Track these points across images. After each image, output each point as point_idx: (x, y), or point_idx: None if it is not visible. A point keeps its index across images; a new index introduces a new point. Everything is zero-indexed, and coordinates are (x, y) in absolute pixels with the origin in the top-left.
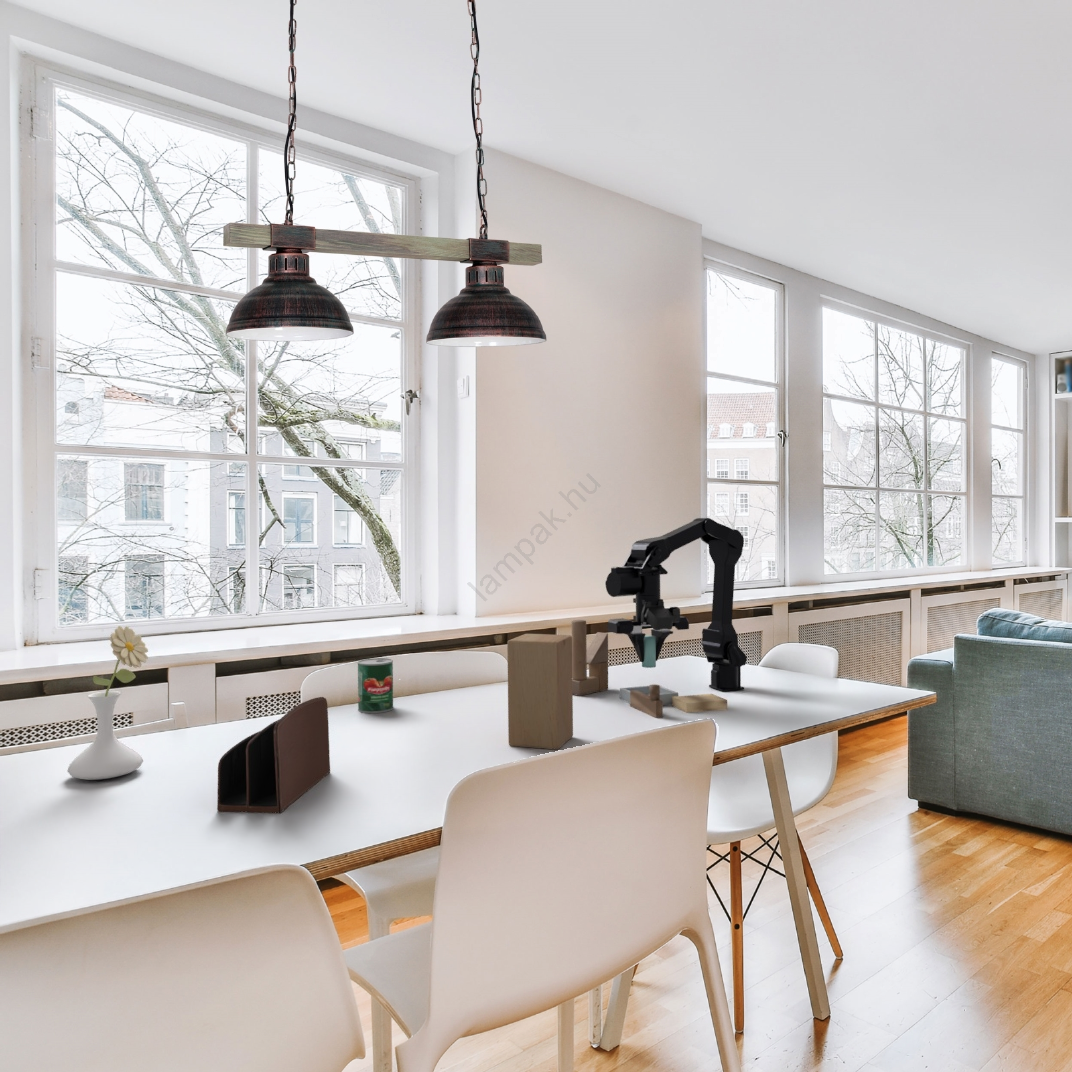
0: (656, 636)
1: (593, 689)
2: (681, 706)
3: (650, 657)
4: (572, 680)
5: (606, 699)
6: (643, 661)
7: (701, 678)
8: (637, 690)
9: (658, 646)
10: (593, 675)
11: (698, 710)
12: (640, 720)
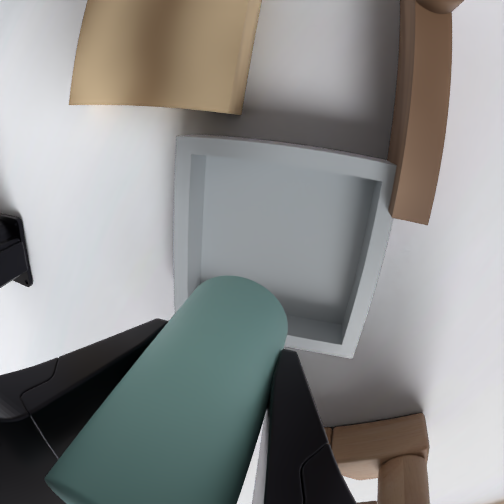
0: (38, 474)
1: (360, 430)
2: (252, 27)
3: (228, 327)
4: (426, 462)
5: (396, 347)
6: (284, 349)
7: (34, 355)
8: None
9: (81, 376)
10: None
11: None
12: (493, 7)
